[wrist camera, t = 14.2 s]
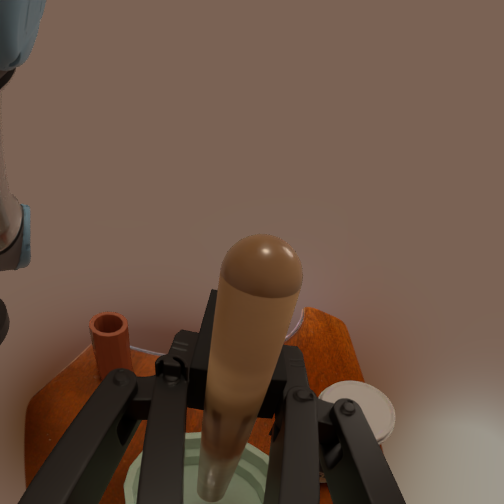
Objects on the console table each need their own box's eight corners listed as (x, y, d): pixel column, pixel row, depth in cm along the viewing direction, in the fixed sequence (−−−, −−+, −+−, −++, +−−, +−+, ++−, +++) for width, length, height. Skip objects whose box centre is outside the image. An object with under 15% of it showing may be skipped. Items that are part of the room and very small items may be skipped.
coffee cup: (279, 481, 24) (313, 436, 20) (292, 427, 33) (321, 371, 29) (350, 491, 23) (402, 446, 18) (352, 438, 31) (392, 385, 27)
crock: (94, 381, 33) (82, 329, 29) (107, 358, 38) (100, 307, 34) (126, 391, 33) (118, 340, 30) (137, 367, 38) (133, 316, 35)
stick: (195, 502, 16) (221, 246, 7) (198, 481, 18) (230, 217, 9) (222, 505, 16) (320, 263, 7) (224, 484, 18) (304, 230, 9)
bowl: (122, 545, 12) (108, 539, 10) (149, 442, 26) (145, 418, 24) (278, 566, 13) (296, 564, 10) (274, 461, 27) (287, 440, 25)
